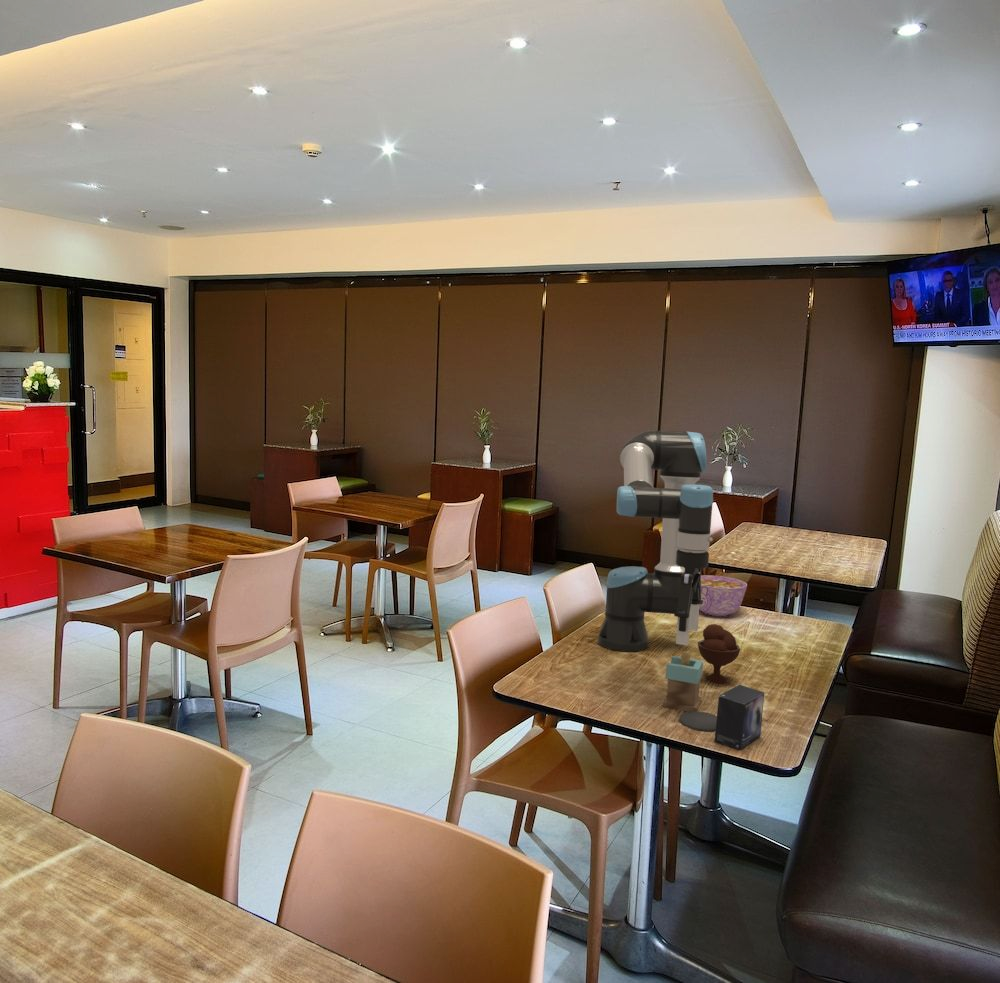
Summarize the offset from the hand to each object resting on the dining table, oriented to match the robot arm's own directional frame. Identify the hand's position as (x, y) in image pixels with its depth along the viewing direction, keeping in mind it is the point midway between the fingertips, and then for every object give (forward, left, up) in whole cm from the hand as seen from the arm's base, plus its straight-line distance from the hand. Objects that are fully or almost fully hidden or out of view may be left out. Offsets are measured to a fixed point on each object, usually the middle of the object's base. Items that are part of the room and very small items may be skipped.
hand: (687, 637), depth 189 cm
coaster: (+6, -9, -17) cm, 20 cm away
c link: (0, 0, -10) cm, 10 cm away
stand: (0, 0, -17) cm, 17 cm away
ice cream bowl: (+5, +22, -17) cm, 29 cm away
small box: (+15, -14, -17) cm, 27 cm away
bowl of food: (-5, +92, -17) cm, 94 cm away
